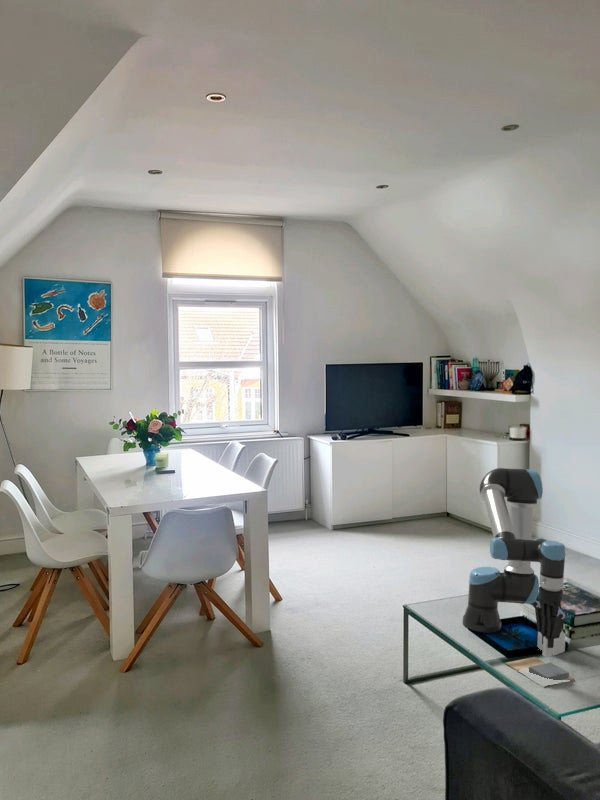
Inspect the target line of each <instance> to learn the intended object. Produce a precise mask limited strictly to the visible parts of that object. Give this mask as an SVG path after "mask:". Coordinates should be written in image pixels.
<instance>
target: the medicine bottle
mask: <svg viewBox="0 0 600 800" xmlns="http://www.w3.org/2000/svg"><path fill="white" fill-rule="evenodd" d="M566 635H567V634H566V632H562V631H561V633H560V637H559V638H556V639H554V646H553V648H552V656H553V657H554V656H557V655H560V654H562V653H563V654H564V652H565V650H566V638H567V637H566ZM536 645H537V646H536V648H537V647H538V648H539V649H540V651H541V650H542V651H541V652H543V644H542V634H541V633H540V632H538V631H537V643H536ZM539 649H538V650H539Z"/></svg>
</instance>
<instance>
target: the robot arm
mask: <svg viewBox="0 0 600 800" xmlns="http://www.w3.org/2000/svg"><path fill="white" fill-rule="evenodd" d="M543 489H544V488H543V482H542V478H541V475H540V474H539V472H538V471H537V470H534V469H526V468H505V467H498V468H497V467H496V468H494V469H491V470H490V471H489V472H487V473H486V474H485V476H483V478H482V479H481V481H480V483H479V495H480V498H481V499H482V501H484V503H485V508H486V512H487V516H488V520H489V524H490V529H491V532H492V536H493V537H492V538H491V539H490V542H489V554H490V557H491V558H492V559H495V560H499V561H500V560H501V561H507V564H506V566H504V568H503V572H500V570H499V569H498V568H496V567H492V566H479V567H475V568H474V569H472V570H471V571H470V573H469V579H468V597H467V598H468V599H467V606H466V609H465V613H464V615H463V617H462V625H463V626H464V627H465V628H467V629H469V630H472V631H474V632H478V633H489V634H491V633H497V632H499V631H501V629H502V621H501V617H500V614H499V611H498V610H499V609H498V604H499V603H507V604H520V605H524V604H525V605H529V604H530V605H531V604H533V608H534V611H535V620H536V629H537V633H538V632H540V633H541V634H542V644H543V651H542V654H541V656H543V657H545V658H548V657H552V656H553V655H552V648H553V646H554V639H556V638H559V637H560V633H561V632H562V629H563V626H564V623H565V619H566V618H567V617H568V614H567V613H566V612H563V610H562V606H561V605H562V604H561V603H562V601H563V596H564V595H563V593H564V590H563V589H564V575H565V563H566V556H567V555H566V545H565V544H564V543H562V542H559V541H556V540H547V539H545V538H542V537H537V538H534V539H532V535H533V534H532V533H533V509H534V507H536V505H537V504H538V500H540V499H542V497H543ZM506 502H507V503H508V505H510V509H509V510H510V512H509V510H508V506H507V503H506ZM509 513H510V514H509ZM531 562H534V563H540V566H539V567H540V569H539V570H540V571H539V577H538V576H537V574H535V570H534V569H533V567H531ZM538 597H539V599H538V601H536V600H537V598H538ZM498 630H499V631H498ZM496 631H497V632H496Z"/></svg>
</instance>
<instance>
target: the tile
mask: <svg viewBox="0 0 600 800" xmlns="http://www.w3.org/2000/svg"><path fill="white" fill-rule="evenodd" d="M529 672H530V673H533V674H536V675H539V676H541V677H544V678H547V679H548V678H549V679H553V680H568V679H569V676H570V672H569V671H567V670H565V669H564V668H562V667H560V666H558V665H557V664H554V663H553V662H545V664H540V665H536V666H531V667H529Z"/></svg>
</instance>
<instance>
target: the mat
mask: <svg viewBox="0 0 600 800" xmlns="http://www.w3.org/2000/svg"><path fill="white" fill-rule="evenodd" d="M545 663H546V662H544V661H543V660H541V659H539V657H536V656H533V657H527V658H523V659H522V658H521V659H518V660H513V661H508V662H505V663H504V665H505V666H507V667H510V668H511V669H512V670H514V671H515V670H517V671H519V670H520V669H522V668H528V669H529V667H531V666H536V665H540V664H545ZM517 671H516V672H517ZM568 680H570V681H571V682H574V681H575V680H576V678H573V677H572V676H570V675H569V679H568Z"/></svg>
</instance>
